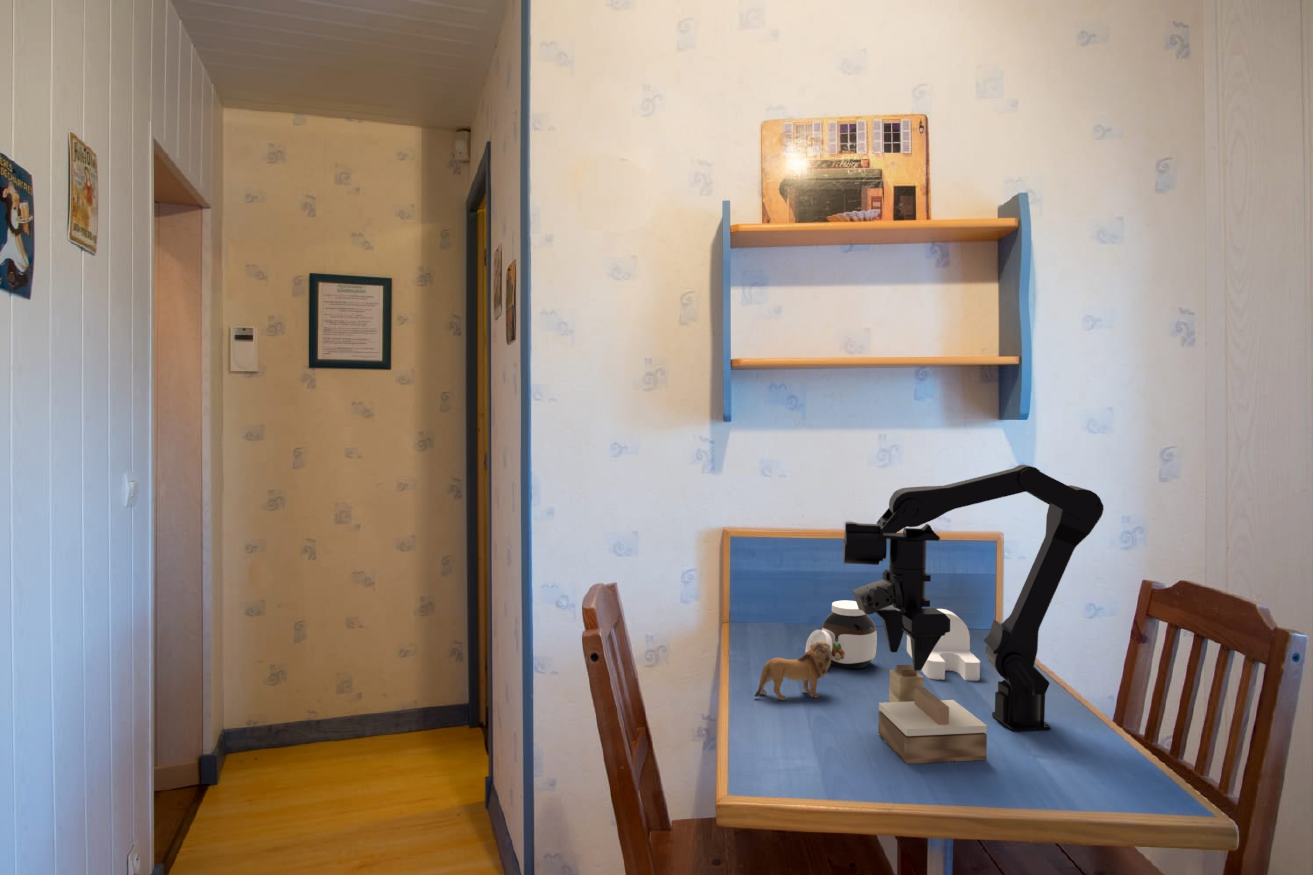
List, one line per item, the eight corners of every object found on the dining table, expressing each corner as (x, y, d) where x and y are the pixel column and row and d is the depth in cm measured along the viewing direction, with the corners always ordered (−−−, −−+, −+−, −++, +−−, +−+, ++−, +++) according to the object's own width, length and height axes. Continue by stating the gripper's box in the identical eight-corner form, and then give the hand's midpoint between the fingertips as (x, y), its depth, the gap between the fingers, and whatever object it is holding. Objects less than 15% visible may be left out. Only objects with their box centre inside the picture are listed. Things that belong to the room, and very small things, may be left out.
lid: (953, 706, 124) (953, 683, 124) (986, 732, 114) (987, 708, 114) (878, 709, 123) (879, 686, 122) (906, 736, 113) (907, 711, 113)
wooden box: (952, 731, 124) (952, 707, 124) (986, 759, 114) (986, 734, 114) (878, 734, 123) (878, 710, 123) (906, 763, 113) (906, 738, 113)
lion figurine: (822, 685, 144) (823, 636, 144) (838, 696, 139) (838, 645, 139) (748, 694, 140) (748, 643, 139) (761, 705, 135) (761, 652, 134)
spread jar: (881, 664, 156) (882, 605, 156) (852, 678, 148) (853, 616, 147) (828, 651, 164) (828, 595, 164) (797, 663, 156) (798, 605, 156)
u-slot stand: (952, 651, 165) (953, 600, 165) (981, 682, 147) (982, 624, 147) (905, 650, 166) (906, 599, 165) (928, 680, 148) (929, 622, 147)
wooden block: (911, 710, 133) (912, 662, 132) (922, 719, 129) (923, 670, 128) (888, 711, 132) (889, 663, 132) (899, 720, 128) (900, 671, 128)
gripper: (839, 555, 138) (838, 644, 139) (882, 579, 119) (880, 682, 120) (901, 554, 139) (899, 643, 140) (953, 578, 121) (950, 680, 121)
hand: (905, 660), depth 130 cm, fingers open, 9 cm apart
